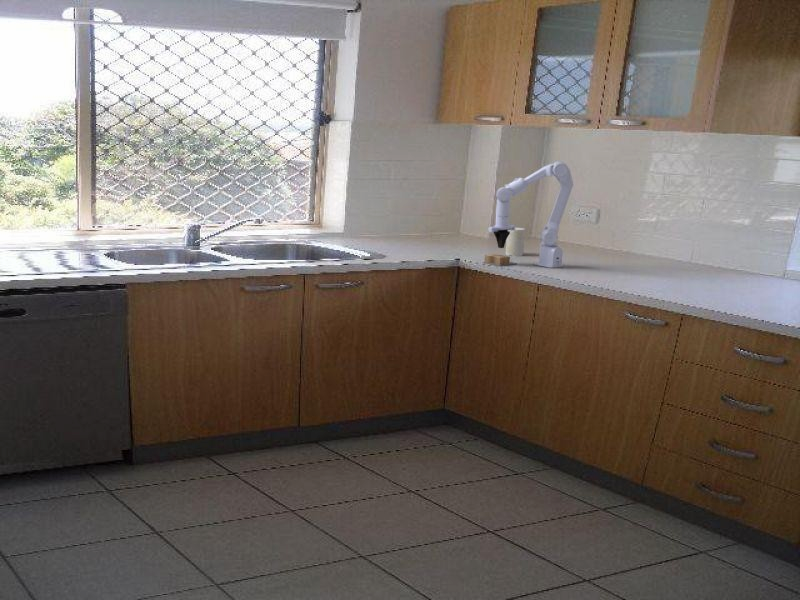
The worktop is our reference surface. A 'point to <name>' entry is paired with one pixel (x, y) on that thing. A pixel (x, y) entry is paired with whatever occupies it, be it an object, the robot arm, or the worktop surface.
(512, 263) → the mat
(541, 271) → the worktop surface
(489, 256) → the slab
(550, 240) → the robot arm
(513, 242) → the cup
